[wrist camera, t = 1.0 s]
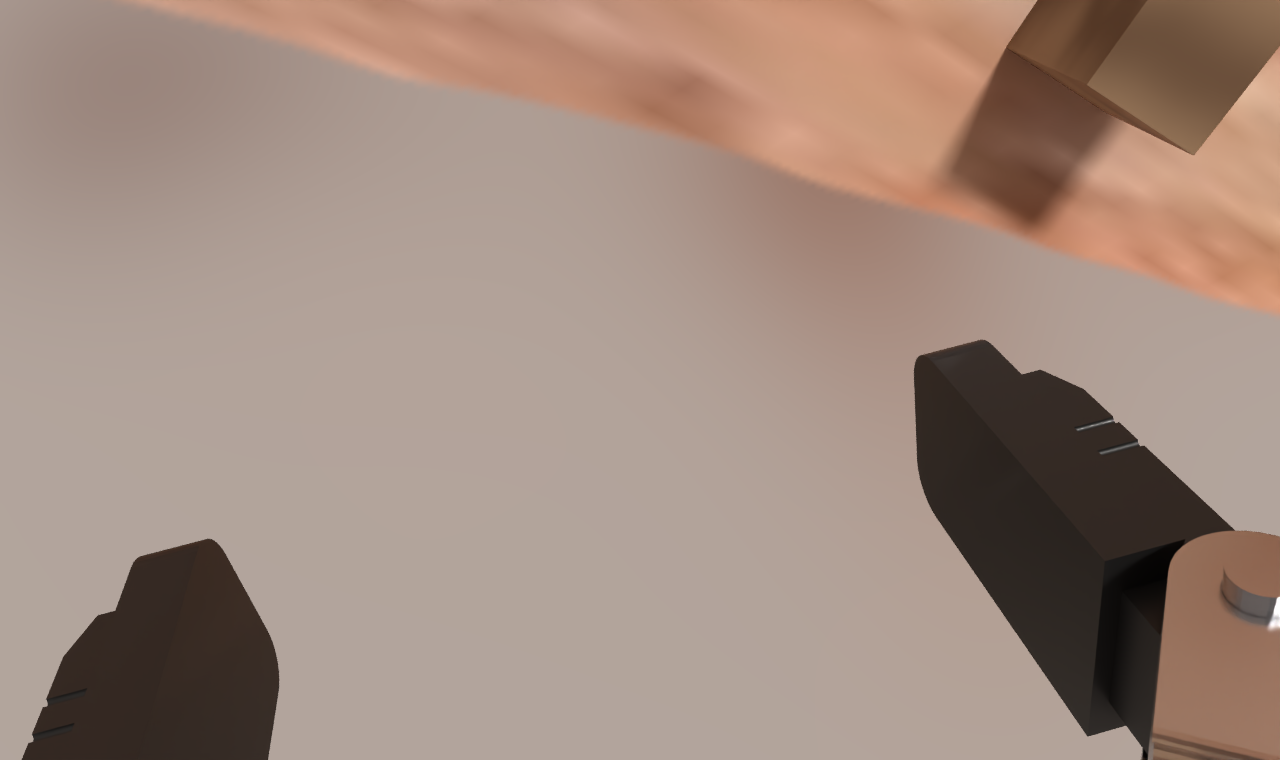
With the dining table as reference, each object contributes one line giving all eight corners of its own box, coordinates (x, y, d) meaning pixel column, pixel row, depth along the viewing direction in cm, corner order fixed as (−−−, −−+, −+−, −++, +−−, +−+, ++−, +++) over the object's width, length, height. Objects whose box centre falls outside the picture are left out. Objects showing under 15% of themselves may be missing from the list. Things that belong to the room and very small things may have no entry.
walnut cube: (1100, -95, 32) (1201, -76, 28) (1199, -19, 34) (1308, 9, 30) (1004, 46, 34) (1087, 84, 30) (1103, 111, 36) (1193, 155, 32)
